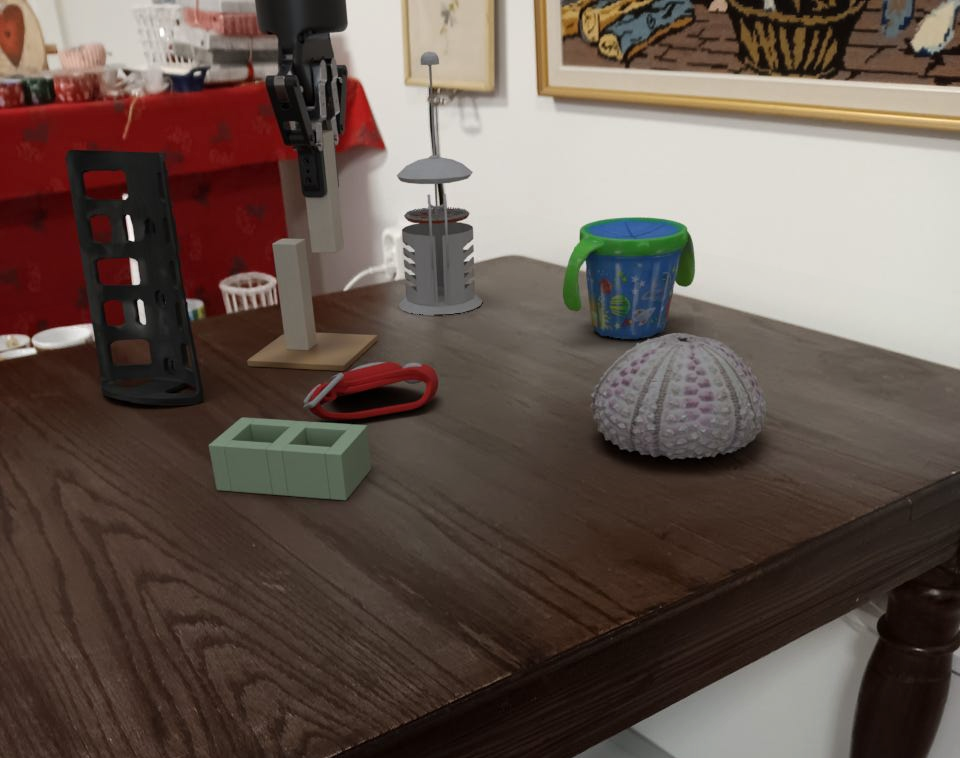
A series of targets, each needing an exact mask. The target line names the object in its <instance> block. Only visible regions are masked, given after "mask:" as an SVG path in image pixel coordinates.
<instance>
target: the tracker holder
mask: <svg viewBox="0 0 960 758" xmlns="http://www.w3.org/2000/svg"><path fill="white" fill-rule="evenodd" d="M401 382H405V383H407V384H409V385H410V384H412V385H413V384H416V385H417V384H419V383H422V382H423V383H424V384H425V385H426V387H425V391H424V393H423V395H422V396H421V397H420V399H418V400H415V401H410V402H409V401H408V402H404V403H398V404H393V405H387V406H381V407H376V408H368V409H363V410H357V411H351V412H334V411H333V412H332V411H329V410H326V409H324V407H323V405H325V404H327V403H330V402H332V401H334V400H336V399H337V397H338V398H339V397H343V396H349V395H352V394H357V393H361V392H364V391H367V390H368V391H369V390H372V389H373V390H374V389H376V388H380V387H385V386H389V385H393V384H397V383H401ZM438 389H439V377H438V374H437V372H436V370H435V369H434V368H433V367H432V366H431V365H429V364H427V363H419V362H410V363H409V362H408V363H406V364H404V365H403V366H402V365H401V364H399V363H398V362H394V361H376V362H369V363H365V364H362V365H359V366H356V367H354V368H352V369H350V370H346V371H344V372H339V373H337V374H335V375H332V376H331V377H330V379H328V380H327V381H326V382H324V383H323V382H322V383H319V384H317V385H314V386H313V387H311V389H310V390H309V392H308V394H307V395H306V397H305V398H304V400H303V404H304V405H303V409H304V410H306V411H307V410H309V412H310V413H312V415H314V416H316V417H318V418H319V419H322V420H327V421H329V420H330V421H349V420H350V421H351V420H362V419H368V418H373V417H379V416H383V415H384V416H386V415H390V414H395V413H401V412H406V411H412V410H416V409H418V408H421V407H423V406H425V405H428V404H429V402H431V401H432V400H433V399H434V397H435V396H436V395H437V392H438Z"/></svg>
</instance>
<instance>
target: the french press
mask: <svg viewBox="0 0 960 758" xmlns="http://www.w3.org/2000/svg"><path fill="white" fill-rule="evenodd" d="M420 65H421V66H428V74H429V76H428V77H429V95H430V96H429V97H430V98H429V99H430V115H431V117H430V118H431V136H432V137H431V139H432V155H430V156H428V157H426V158H420V159H417V160H415V161H413V162H411V163H409V164H407V165H405V166H404V167H403V169H401V170H400V171H399V173H397V174H396V177H397V179H398V180H399V181H400V182H402V183H406V184H416V185H434V200H435V205H433V204H432V203H431V194H427V204H428V206H427V207H421V208H417V209H416V208H414V209H412V210H409V211H407V212H406V213H405V214H404V215H403V216H404V219H405V220H406V221H408V222H410V223H413V224H409V225H406V226H405V227H403V228H402V229H401V236H402V237H401V239H402V242H403V244H404V245H405V246H409V247H410V248H411V249H412V250H413V251H410V250H408V248H406V247H402V253H403V256H405V257H406V258H407V259H410V260H411V261H412V262H413V263H412V262H409V261H408V260H406V259H403V266H404V268H405V269H406V270H408V271H411V273H413V274H410V273H409V272H408V271H404V278H405V279H406V281H408V282H410V283H412V284H413V285H409V284H408V283H407V282H405V283H404V286H405V287H404V288H405V296H404V298H403V299H402V300H401V301H400V303H399V304H398V307H399V309H400V310H401V311H403V312H406V313H409V314H411V313H413V314H412V315H419V314H421V315H420V316H434V315H433V314H454V313H460V312H465V311H468V310H471V309H474V308H476V307H478V306H479V305H480V304H481V302H482V301H483V299H481V298H480V297H479V296H478V295H477V294H476V289H475V288H476V284H475V279H473V280H472V281H471V282H470V283H469V281H470V279H472V278H473V277H474V276H475V268H472V269H471V270H470V272H467V271H468V269H469V268H471V267H472V266H473V265H474V264H475V257H474V256H472V257H471V258H470V259H469V260H467V261H466V259H468V257H469V256H471V255H472V254H473V253H474V252H475V249H474V248H475V247H474V244H471V245H470V247H468V248H467V249H464V248H465V247H466V246H467V245H468V244H470V243H471V242H472V241H473V240H474V226H472V225H471V224H468V223H465V222H462V221H464V220H466V219H468V218H469V216H470V212H469V210H467V209H466V208H460V207H454V206H453V207H452V206H450V207H449V206H448V207H447V205H448V204H447V194H446V193H443V194H442V195H443V196H442V197H443V198H442V199H443V202H442V204H440V205H438V204H439V203H438V185H439V184H441V185H442V184H451V183H457V182H462V181H464V180H468V179H469V178H470V177H471V176H472V174H473V173H474V172H473V171H472V170H471V169H470V168H468V167H467V166H466V165H465V164H464V163H462V162H460V161H457V160H455V159H452V158H447V157H443V156H442V157H441V156H440V155H437V154H436V140H435V137H436V136H435V117H434V116H435V115H434V94H433V74H432V71H433V70H432V66H435V65H440V58H439V55H438V54H437V53H436V52H435V51H425V52H424V53H422V55H421V56H420ZM465 313H466V312H465ZM422 314H423V315H422ZM454 315H455V314H454Z"/></svg>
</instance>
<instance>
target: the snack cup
mask: <svg viewBox="0 0 960 758" xmlns="http://www.w3.org/2000/svg"><path fill="white" fill-rule="evenodd" d="M695 258H696V257H695V248H694V241H693V239H692V235H691V234H690V232H689V231H688V227H687V226H686V225H685V224H683V223H681V222H679V221H675V220H671V219H666V218H657V217H639V216H638V217H637V216H636V217H633V216H631V217H614V218H605V219H599V220H595V221H591V222H588V223H586V224H584V225H582V226H581V227H580V229H579V241H578V243H577V244H576V245H575V246H573V251H572V252H571V254H570V256H569V259H568V261H567V262H568V263H567V266H566V269H565V274H564V279H563V284H562V285H563V286H562V298H563V302H564V305H565V307H566V308H567V309H568V310H569V311H573V312H579V311H580V310H582V299H581V295H580V285H579V274H580V269H581V267H582V266H583V265H584V263H585V277H586V278H585V279H586V288H587V297H588V305H589V315H590V323H591V324H592V327H593V329H594V331H596V332H597V333H598V335H600V337H601V336H602V337H607V336H609V337H608V338H612V337H613V338H612V339H617V338H621V339H620V340H624V339H626V340H640V339H639V338H641V339H646V337H647V338H650V337H653V336H654V335H655V336H656V335H657V334H660V333H663V332H664V330H665V327H666V324H667V320H668V318H669V312H670V307H671V303H672V300H673V293H674V287H675V283H676V284H677V285H678V286H680V287H683V288H688V287H689V286H691V285H692V283H693V281H694V279H695V274H696V259H695Z"/></svg>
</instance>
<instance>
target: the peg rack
mask: <svg viewBox="0 0 960 758" xmlns="http://www.w3.org/2000/svg"><path fill="white" fill-rule="evenodd" d="M208 450H209V455H210V461H211V466H212V471H213V476H214V477H213V478H214V483H215V489H216V491H222V492H235V493H246V494H247V493H248V494H258V495H259V494H261V495H271V496H273V495H274V496H287V497H299V498H311V499H324V500H335V501H347V500H348V499H349V497H350V496H351V495H352V494H353V492H354V491H355V490H356V489H357V488H358V487H359V485H360V484H361V483H362V481H363V480H364V479H365V478H366V477H367V475H368V474H370V472H371V470H372V463H371V452H370V441H369V431H368V425H366V424H352V423H340V422H339V423H337V422H323V421H322V422H321V421H305V420H302V421H301V420H292V419H291V420H289V419H277V418H276V419H273V418H260V417H259V418H258V417H243V416H242V417H241V418H239V419H238V420H236V422H234V424H232V425H231V426H229V428H227V429H226V430H225V431H224V432H223V433H221V434H220V435H219V436H218V437H216V438H215V439H214V440H213V441H211V442H210V443H209V444H208Z"/></svg>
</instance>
